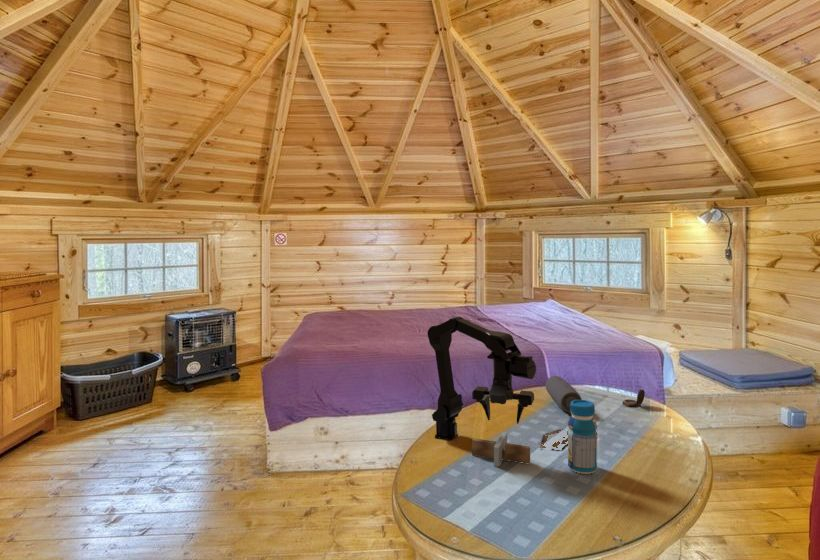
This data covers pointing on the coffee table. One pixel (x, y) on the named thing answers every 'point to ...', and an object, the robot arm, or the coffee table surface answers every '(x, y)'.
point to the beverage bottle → (582, 437)
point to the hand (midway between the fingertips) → (503, 421)
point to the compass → (632, 402)
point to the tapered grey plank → (499, 448)
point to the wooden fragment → (555, 442)
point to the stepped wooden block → (510, 453)
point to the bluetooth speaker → (561, 392)
